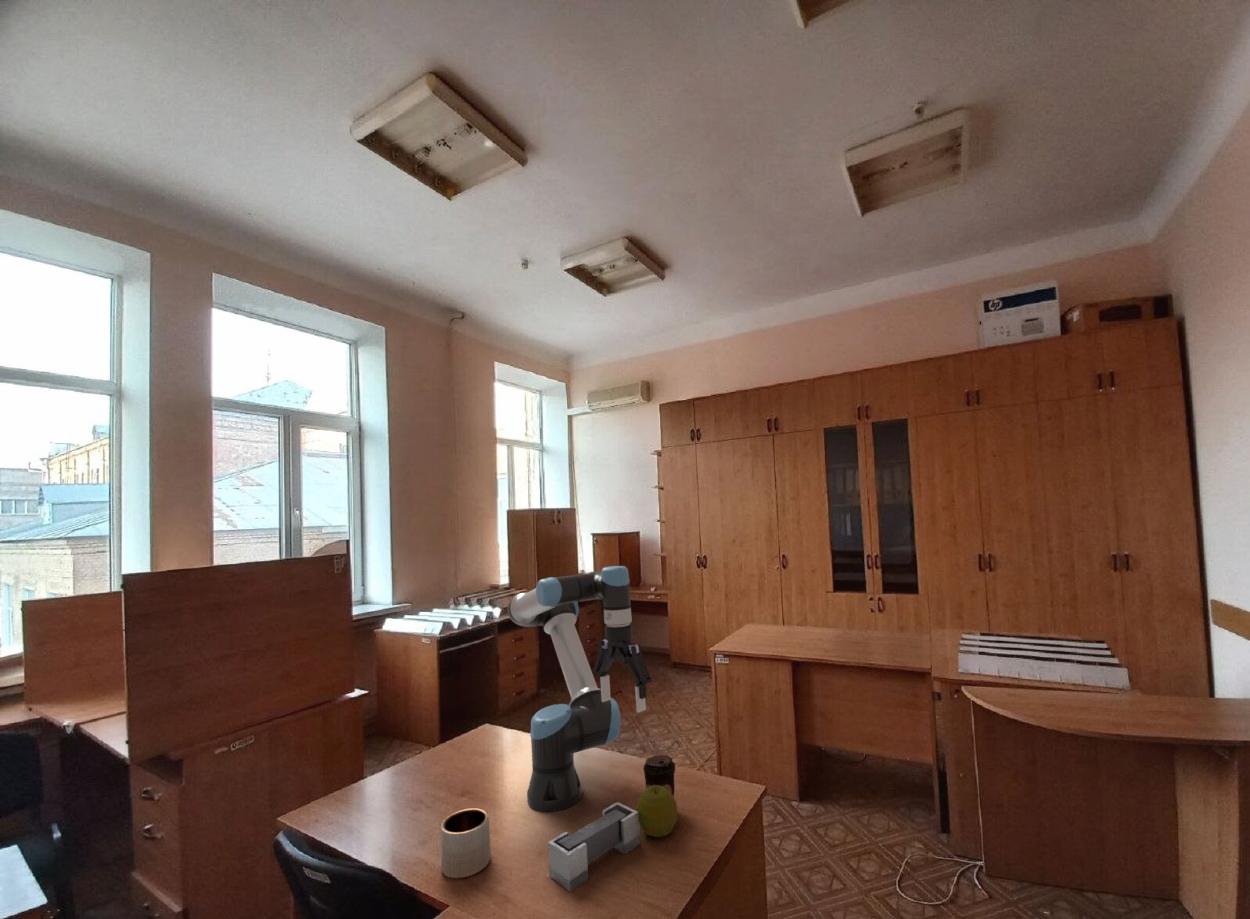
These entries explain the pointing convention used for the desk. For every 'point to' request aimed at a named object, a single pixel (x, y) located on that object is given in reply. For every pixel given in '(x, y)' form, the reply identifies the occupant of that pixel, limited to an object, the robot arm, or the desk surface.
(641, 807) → the apple
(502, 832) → the desk surface
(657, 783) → the coffee cup
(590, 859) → the rail
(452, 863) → the planter
